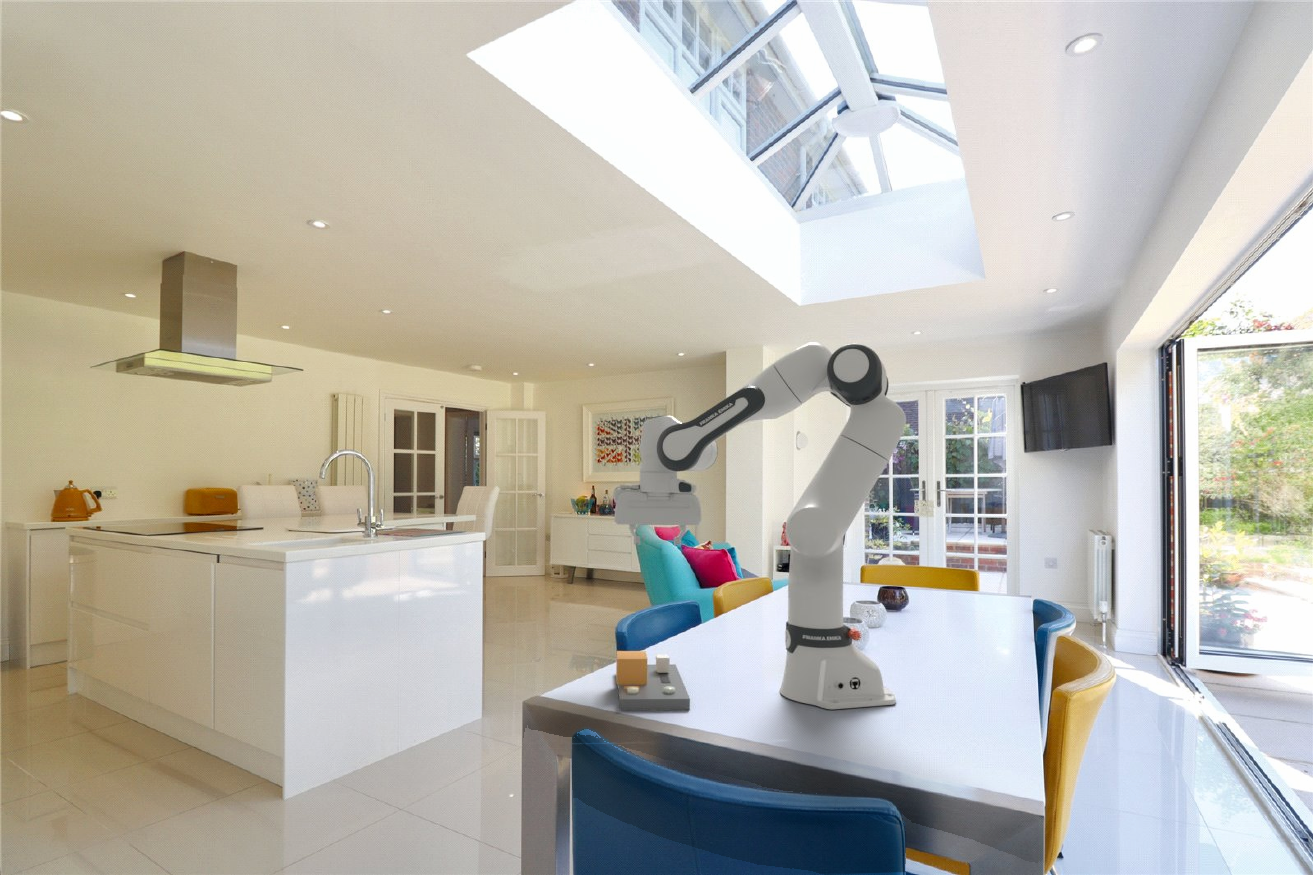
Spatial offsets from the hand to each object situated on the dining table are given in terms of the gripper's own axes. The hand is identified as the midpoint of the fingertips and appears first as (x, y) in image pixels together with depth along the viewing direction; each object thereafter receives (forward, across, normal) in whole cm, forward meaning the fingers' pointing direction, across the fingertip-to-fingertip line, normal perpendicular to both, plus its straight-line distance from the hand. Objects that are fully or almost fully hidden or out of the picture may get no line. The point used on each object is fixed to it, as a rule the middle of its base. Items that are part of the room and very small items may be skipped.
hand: (657, 544), depth 152 cm
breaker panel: (+28, -3, -16) cm, 33 cm away
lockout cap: (+26, -7, -16) cm, 31 cm away
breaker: (+26, +1, -10) cm, 28 cm away
